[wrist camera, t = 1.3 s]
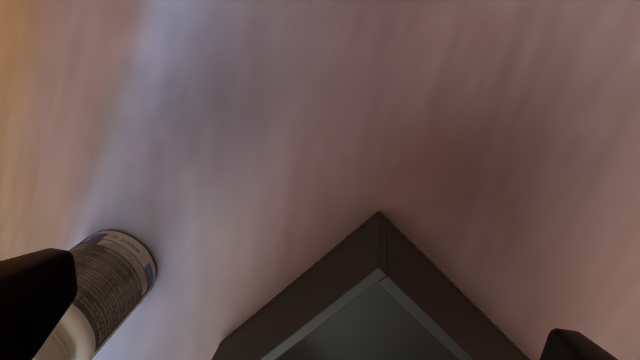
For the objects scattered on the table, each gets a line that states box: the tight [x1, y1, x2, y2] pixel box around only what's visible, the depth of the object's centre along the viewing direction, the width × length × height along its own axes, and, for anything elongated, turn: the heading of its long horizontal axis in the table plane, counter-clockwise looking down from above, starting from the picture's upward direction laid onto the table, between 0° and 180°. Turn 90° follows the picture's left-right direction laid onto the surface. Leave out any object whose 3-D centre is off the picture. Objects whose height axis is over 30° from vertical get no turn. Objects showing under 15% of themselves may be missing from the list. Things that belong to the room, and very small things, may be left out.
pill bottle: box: [33, 231, 156, 360], centre depth 21 cm, size 5×5×8 cm
